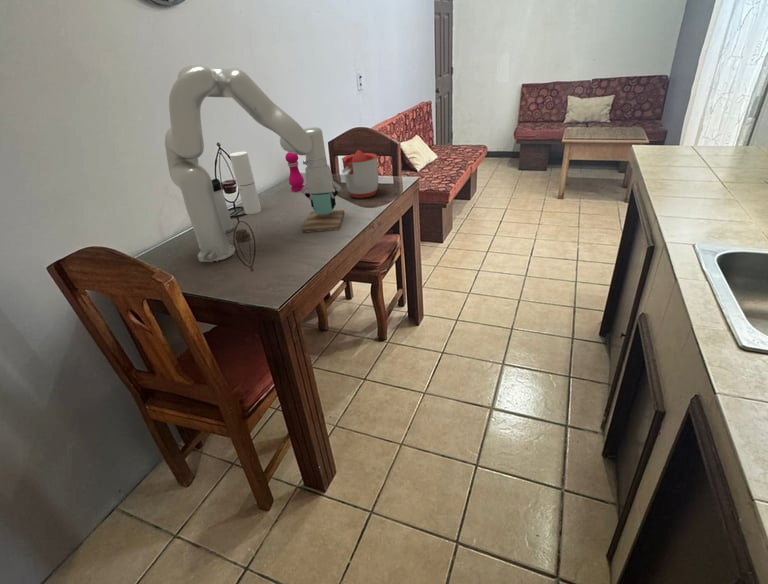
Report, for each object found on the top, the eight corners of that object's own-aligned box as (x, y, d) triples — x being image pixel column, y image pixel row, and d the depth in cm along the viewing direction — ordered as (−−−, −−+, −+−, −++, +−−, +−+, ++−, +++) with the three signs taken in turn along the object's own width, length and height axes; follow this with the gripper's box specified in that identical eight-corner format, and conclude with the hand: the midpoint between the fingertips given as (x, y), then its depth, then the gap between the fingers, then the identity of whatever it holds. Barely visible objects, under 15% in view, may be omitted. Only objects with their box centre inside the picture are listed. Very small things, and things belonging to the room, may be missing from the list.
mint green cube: (331, 213, 165) (329, 194, 161) (314, 214, 165) (311, 195, 162) (334, 207, 171) (331, 189, 167) (317, 208, 171) (314, 190, 167)
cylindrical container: (256, 214, 182) (242, 155, 169) (242, 214, 184) (226, 156, 171) (264, 208, 188) (250, 151, 175) (249, 208, 190) (234, 151, 177)
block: (329, 216, 167) (327, 203, 165) (320, 217, 168) (318, 203, 165) (330, 213, 171) (328, 200, 168) (321, 213, 171) (319, 200, 168)
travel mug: (237, 227, 170) (223, 178, 160) (227, 234, 165) (212, 183, 154) (224, 227, 172) (209, 178, 161) (214, 233, 166) (198, 183, 156)
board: (339, 229, 158) (339, 226, 158) (303, 232, 159) (302, 228, 158) (344, 213, 174) (343, 209, 173) (311, 215, 175) (310, 212, 174)
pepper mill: (288, 192, 206) (279, 150, 196) (295, 187, 212) (287, 146, 202) (301, 192, 204) (293, 150, 194) (307, 187, 210) (300, 146, 200)
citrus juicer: (336, 197, 192) (330, 153, 182) (364, 187, 202) (359, 144, 192) (359, 203, 182) (354, 156, 172) (387, 192, 192) (383, 147, 182)
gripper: (292, 167, 156) (301, 212, 165) (338, 163, 155) (344, 209, 164) (296, 162, 162) (304, 206, 171) (340, 158, 161) (346, 203, 170)
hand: (324, 207), depth 168 cm, fingers closed on mint green cube, 6 cm apart
